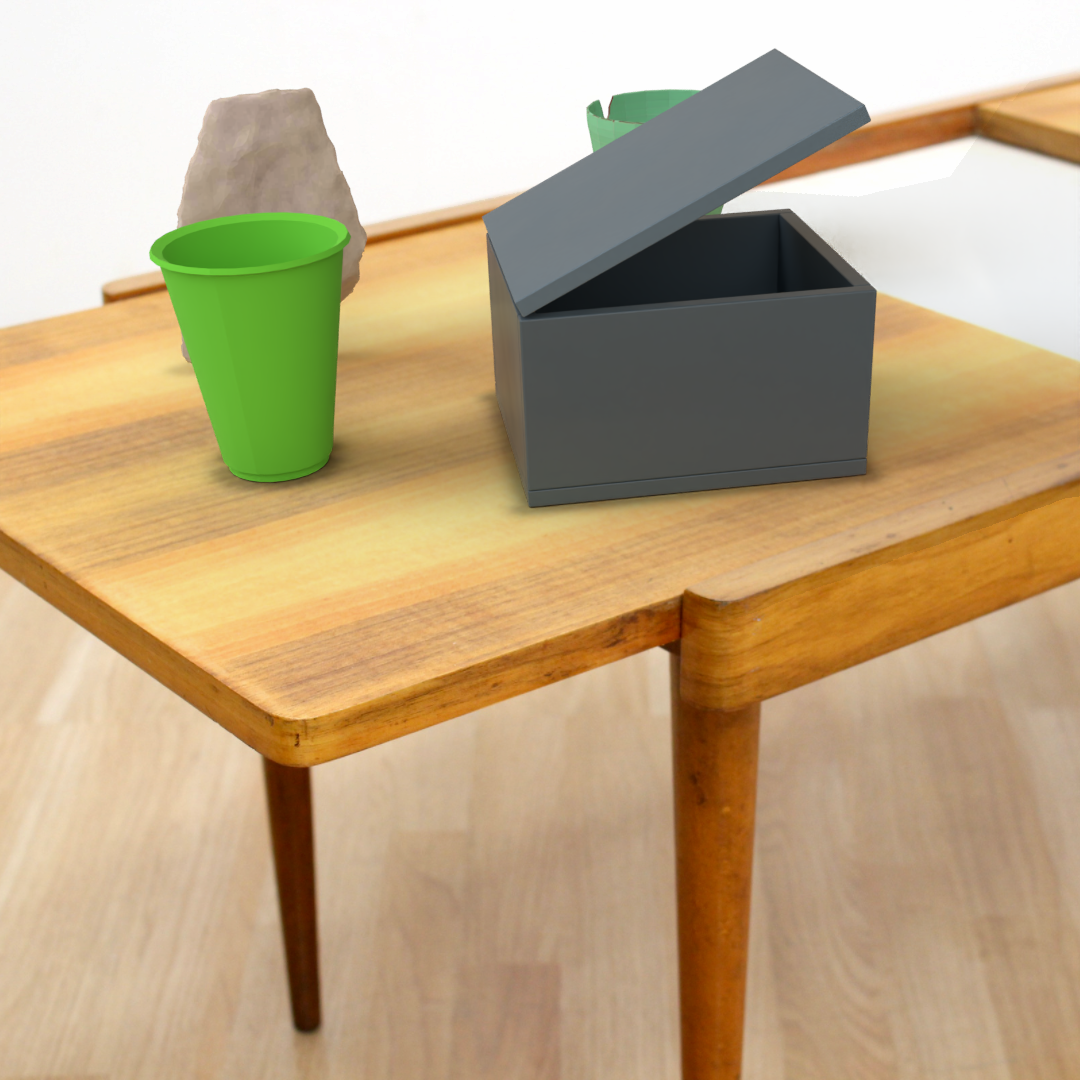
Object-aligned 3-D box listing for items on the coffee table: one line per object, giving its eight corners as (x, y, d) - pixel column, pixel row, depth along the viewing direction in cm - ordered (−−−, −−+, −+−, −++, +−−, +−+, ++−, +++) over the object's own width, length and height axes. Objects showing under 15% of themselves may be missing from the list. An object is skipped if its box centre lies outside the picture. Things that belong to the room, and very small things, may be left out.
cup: (396, 428, 78) (376, 213, 73) (335, 507, 70) (308, 272, 65) (230, 419, 80) (199, 209, 75) (152, 495, 72) (112, 266, 67)
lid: (781, 62, 76) (775, 47, 75) (872, 121, 64) (864, 103, 63) (489, 230, 77) (481, 216, 77) (523, 318, 65) (514, 302, 65)
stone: (181, 373, 86) (137, 99, 79) (195, 352, 89) (154, 86, 82) (373, 368, 86) (346, 91, 79) (381, 347, 89) (356, 79, 82)
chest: (784, 369, 83) (790, 207, 79) (866, 474, 71) (877, 289, 67) (495, 396, 81) (485, 231, 77) (529, 507, 69) (519, 320, 65)
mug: (597, 239, 106) (593, 90, 101) (742, 239, 105) (745, 87, 100) (575, 311, 93) (569, 143, 88) (740, 311, 92) (743, 141, 87)
